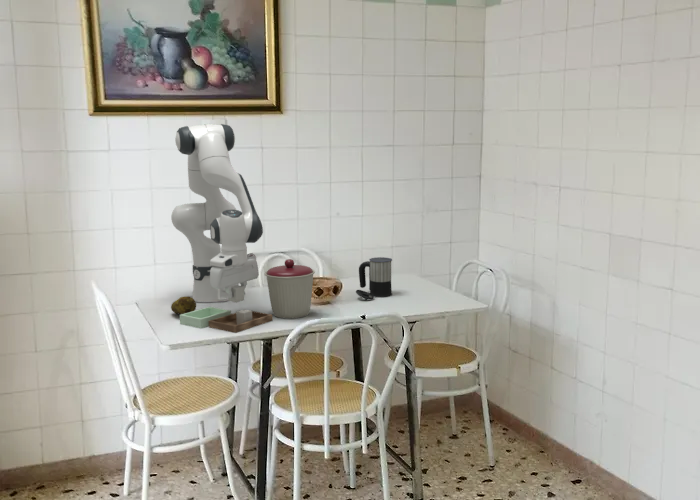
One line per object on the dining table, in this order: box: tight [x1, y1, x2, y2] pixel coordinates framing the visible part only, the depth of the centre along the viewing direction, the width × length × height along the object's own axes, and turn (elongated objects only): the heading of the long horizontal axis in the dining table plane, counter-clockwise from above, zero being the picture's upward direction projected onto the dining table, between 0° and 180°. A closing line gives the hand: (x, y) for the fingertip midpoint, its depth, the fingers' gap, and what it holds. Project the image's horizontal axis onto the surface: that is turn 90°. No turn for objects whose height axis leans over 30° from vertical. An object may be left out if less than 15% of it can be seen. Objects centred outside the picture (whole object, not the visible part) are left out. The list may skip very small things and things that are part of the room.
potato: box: [170, 295, 197, 316], centre depth 270 cm, size 8×13×8 cm, turn 21°
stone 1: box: [228, 284, 245, 304], centre depth 256 cm, size 4×4×5 cm
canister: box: [264, 258, 316, 320], centre depth 265 cm, size 18×18×21 cm
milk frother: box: [355, 256, 393, 301], centre depth 293 cm, size 14×16×15 cm
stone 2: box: [235, 309, 253, 325], centre depth 253 cm, size 4×4×5 cm
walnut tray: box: [208, 309, 274, 334], centre depth 255 cm, size 18×13×3 cm
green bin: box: [179, 306, 232, 329], centre depth 259 cm, size 14×11×4 cm
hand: (236, 296), depth 257 cm, fingers closed on stone 1, 4 cm apart
